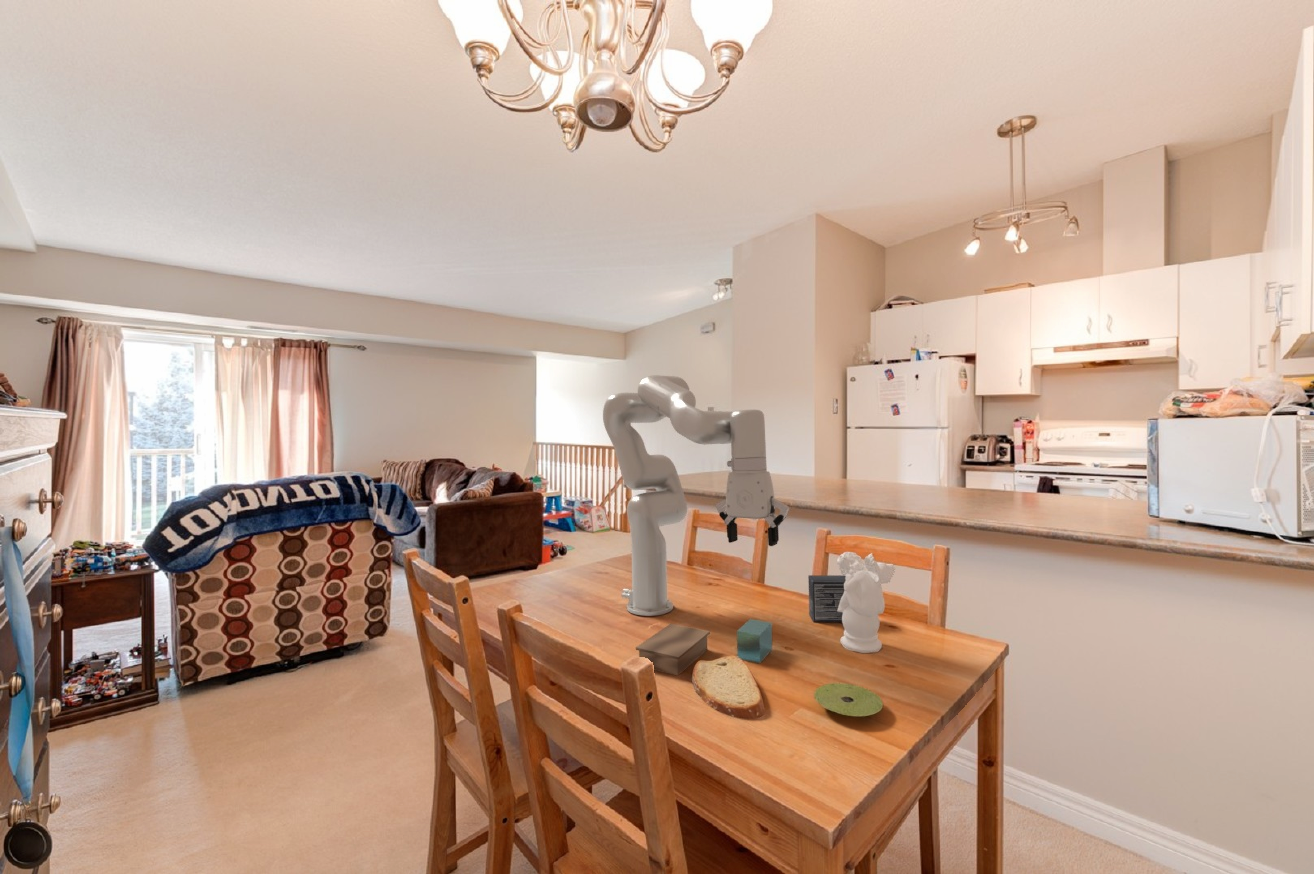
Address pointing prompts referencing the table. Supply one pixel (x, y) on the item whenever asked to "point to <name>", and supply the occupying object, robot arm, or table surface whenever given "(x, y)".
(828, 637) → the table surface
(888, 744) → the table surface
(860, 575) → the cherub figurine
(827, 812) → the table surface
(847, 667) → the table surface
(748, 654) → the block
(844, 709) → the green disc
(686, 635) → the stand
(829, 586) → the small box
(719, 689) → the slice of bread
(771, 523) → the robot arm
